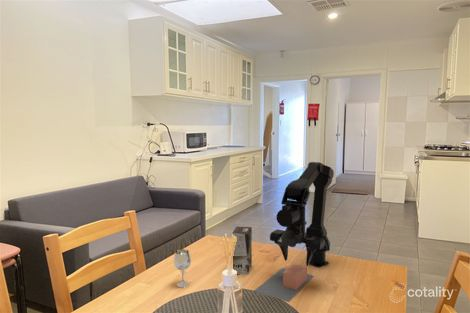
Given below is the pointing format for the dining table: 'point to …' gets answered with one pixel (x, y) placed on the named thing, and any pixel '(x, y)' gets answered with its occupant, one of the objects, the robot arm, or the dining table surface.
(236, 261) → the coffee box
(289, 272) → the red block
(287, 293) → the mat
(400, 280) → the dining table surface
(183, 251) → the wineglass
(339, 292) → the dining table surface
